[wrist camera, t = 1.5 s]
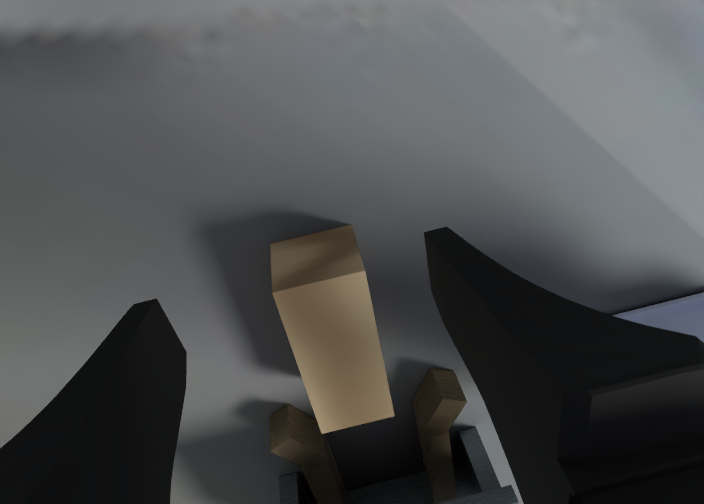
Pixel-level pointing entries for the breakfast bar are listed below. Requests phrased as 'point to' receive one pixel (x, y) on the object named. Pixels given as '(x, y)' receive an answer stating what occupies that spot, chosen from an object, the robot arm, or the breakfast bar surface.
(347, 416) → the oak bar
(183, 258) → the breakfast bar surface
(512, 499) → the awning
